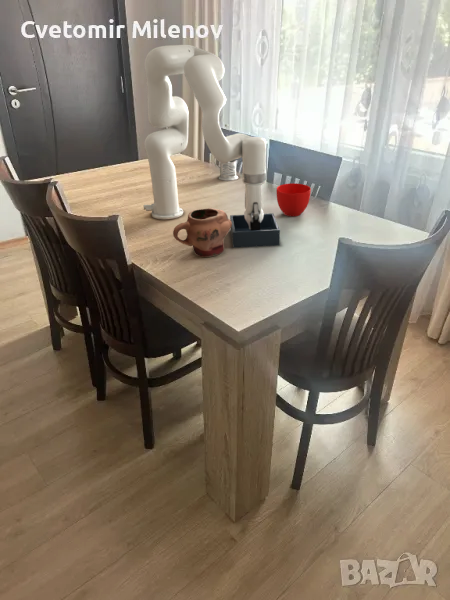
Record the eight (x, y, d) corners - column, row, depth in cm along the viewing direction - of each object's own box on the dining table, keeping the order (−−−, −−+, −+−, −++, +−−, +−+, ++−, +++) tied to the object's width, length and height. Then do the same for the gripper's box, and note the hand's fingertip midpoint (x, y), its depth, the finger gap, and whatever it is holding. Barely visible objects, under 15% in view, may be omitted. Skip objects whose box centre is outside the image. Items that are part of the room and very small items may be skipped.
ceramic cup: (313, 205, 180) (315, 181, 175) (305, 220, 167) (307, 195, 161) (282, 203, 184) (282, 179, 179) (272, 217, 170) (272, 192, 165)
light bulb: (243, 232, 158) (243, 202, 152) (261, 231, 158) (262, 201, 152) (245, 240, 152) (245, 209, 146) (264, 238, 152) (265, 208, 147)
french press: (238, 180, 214) (237, 125, 201) (214, 180, 214) (211, 126, 201) (238, 174, 222) (237, 121, 209) (215, 175, 223) (212, 122, 209)
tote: (233, 247, 148) (232, 232, 146) (230, 229, 162) (230, 215, 159) (279, 245, 149) (280, 230, 146) (273, 227, 162) (273, 213, 159)
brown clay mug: (186, 268, 137) (182, 226, 130) (168, 254, 146) (164, 214, 138) (240, 252, 146) (239, 211, 138) (220, 239, 155) (219, 201, 147)
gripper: (240, 170, 152) (241, 218, 161) (244, 186, 137) (245, 237, 146) (262, 169, 152) (261, 217, 161) (268, 185, 137) (267, 236, 146)
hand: (253, 227), depth 153 cm, fingers open, 8 cm apart
